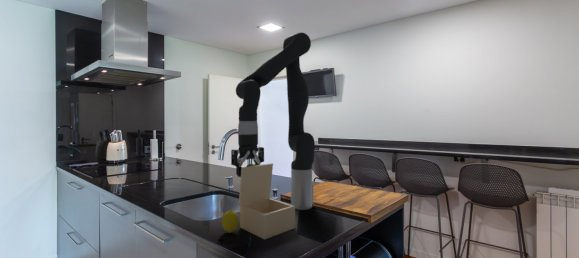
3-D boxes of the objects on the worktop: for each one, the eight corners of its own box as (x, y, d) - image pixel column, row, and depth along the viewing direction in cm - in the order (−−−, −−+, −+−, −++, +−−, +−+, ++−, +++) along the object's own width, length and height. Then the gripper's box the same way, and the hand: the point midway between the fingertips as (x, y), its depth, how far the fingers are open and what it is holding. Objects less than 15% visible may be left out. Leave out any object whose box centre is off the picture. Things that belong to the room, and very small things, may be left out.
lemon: (230, 237, 96) (230, 213, 96) (218, 233, 99) (218, 210, 99) (241, 231, 101) (241, 209, 101) (230, 228, 104) (230, 206, 104)
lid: (269, 197, 114) (259, 192, 119) (273, 163, 112) (262, 159, 117) (239, 205, 105) (230, 199, 109) (242, 168, 102) (232, 163, 107)
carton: (269, 218, 115) (269, 198, 114) (294, 227, 104) (294, 206, 104) (240, 227, 105) (240, 205, 104) (264, 239, 95) (264, 215, 94)
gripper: (257, 131, 119) (257, 171, 120) (226, 133, 109) (227, 176, 110) (268, 132, 114) (268, 173, 114) (237, 134, 104) (238, 179, 105)
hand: (248, 175), depth 112 cm, fingers open, 7 cm apart
